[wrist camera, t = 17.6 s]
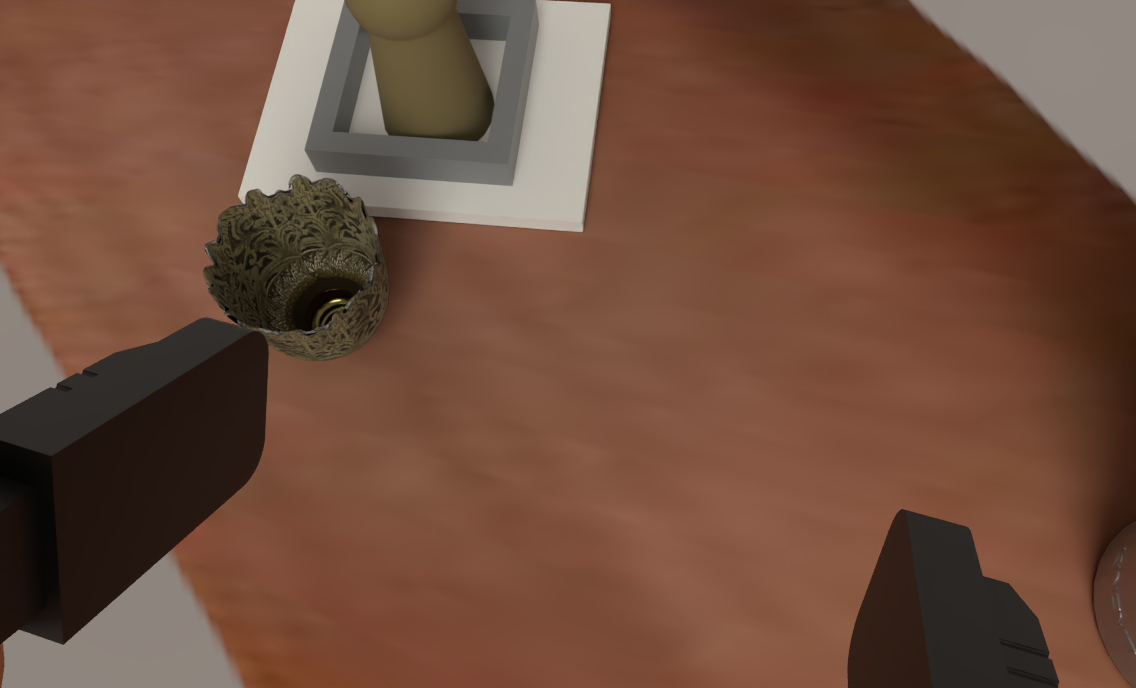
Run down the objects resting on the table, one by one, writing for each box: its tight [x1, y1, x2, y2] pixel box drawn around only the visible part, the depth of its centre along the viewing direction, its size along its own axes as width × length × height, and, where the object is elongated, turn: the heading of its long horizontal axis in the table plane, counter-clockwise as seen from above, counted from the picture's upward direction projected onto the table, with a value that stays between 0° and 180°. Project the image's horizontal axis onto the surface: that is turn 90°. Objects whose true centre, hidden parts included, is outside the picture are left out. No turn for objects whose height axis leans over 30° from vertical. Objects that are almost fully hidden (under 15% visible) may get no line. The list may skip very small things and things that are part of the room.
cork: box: [344, 0, 495, 141], centre depth 45 cm, size 6×6×11 cm
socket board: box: [238, 0, 611, 232], centre depth 50 cm, size 18×14×3 cm
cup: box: [203, 174, 389, 361], centre depth 43 cm, size 8×7×8 cm
